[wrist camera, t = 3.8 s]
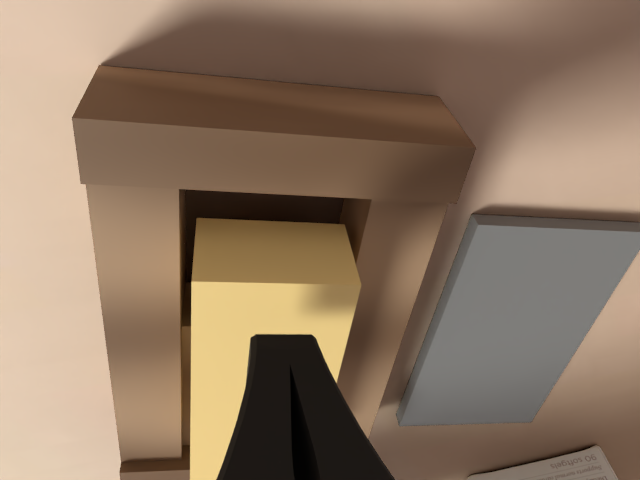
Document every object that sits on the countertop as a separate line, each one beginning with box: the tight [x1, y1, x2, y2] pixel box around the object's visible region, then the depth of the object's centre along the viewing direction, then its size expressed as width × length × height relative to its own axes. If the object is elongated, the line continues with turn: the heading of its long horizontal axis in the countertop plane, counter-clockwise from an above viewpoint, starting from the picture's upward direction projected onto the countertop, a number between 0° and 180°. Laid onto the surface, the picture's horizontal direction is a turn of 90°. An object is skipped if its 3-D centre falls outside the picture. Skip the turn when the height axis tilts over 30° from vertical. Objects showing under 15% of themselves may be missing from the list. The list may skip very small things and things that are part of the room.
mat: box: [396, 214, 640, 426], centre depth 22 cm, size 11×6×1 cm, turn 172°
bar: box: [190, 218, 361, 480], centre depth 17 cm, size 9×4×2 cm, turn 172°
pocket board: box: [72, 65, 476, 480], centre depth 18 cm, size 15×9×3 cm, turn 172°
